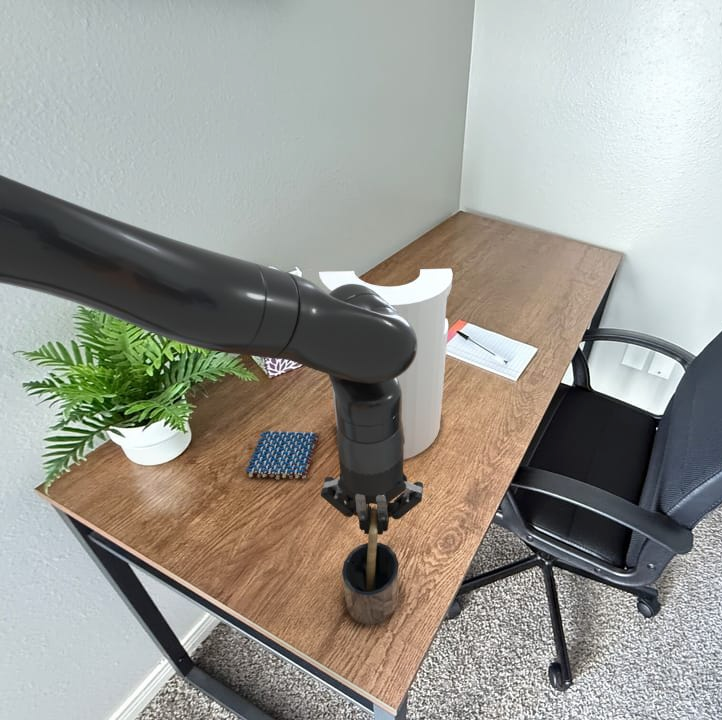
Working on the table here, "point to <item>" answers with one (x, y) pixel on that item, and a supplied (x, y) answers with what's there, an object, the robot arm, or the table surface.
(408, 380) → the white curved half cylinder
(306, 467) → the woven mat
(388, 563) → the cup
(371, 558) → the stirrer
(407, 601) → the table surface
